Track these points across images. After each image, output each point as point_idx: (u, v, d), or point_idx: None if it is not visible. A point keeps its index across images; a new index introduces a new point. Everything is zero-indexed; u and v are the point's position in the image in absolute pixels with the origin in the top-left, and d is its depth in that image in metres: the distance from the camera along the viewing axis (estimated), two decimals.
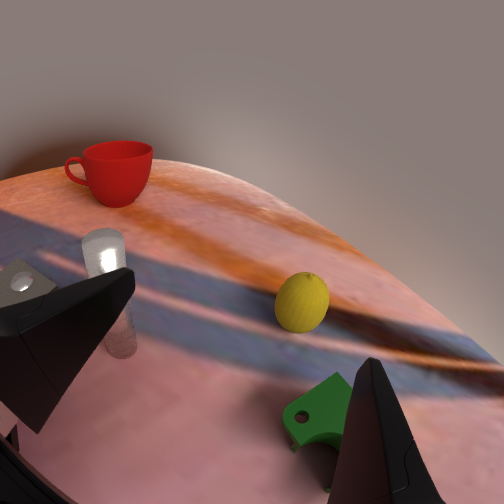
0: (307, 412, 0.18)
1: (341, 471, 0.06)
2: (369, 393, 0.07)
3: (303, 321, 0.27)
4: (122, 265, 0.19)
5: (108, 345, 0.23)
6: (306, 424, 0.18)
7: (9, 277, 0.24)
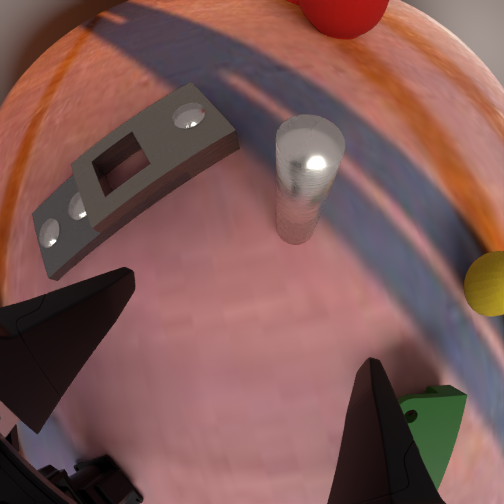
0: (417, 415, 0.15)
1: (341, 471, 0.06)
2: (369, 393, 0.07)
3: (483, 309, 0.17)
4: (330, 180, 0.13)
5: (278, 228, 0.23)
6: None
7: (173, 107, 0.25)
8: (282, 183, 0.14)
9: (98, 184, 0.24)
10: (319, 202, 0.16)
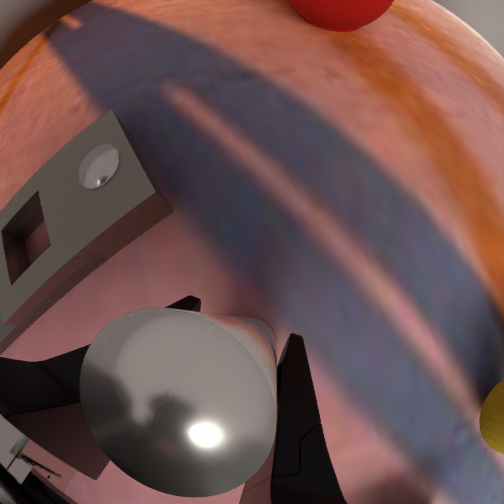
0: None
1: None
2: (281, 368, 0.08)
3: (497, 450, 0.08)
4: None
5: None
6: None
7: (83, 152, 0.16)
8: None
9: (5, 265, 0.15)
10: None
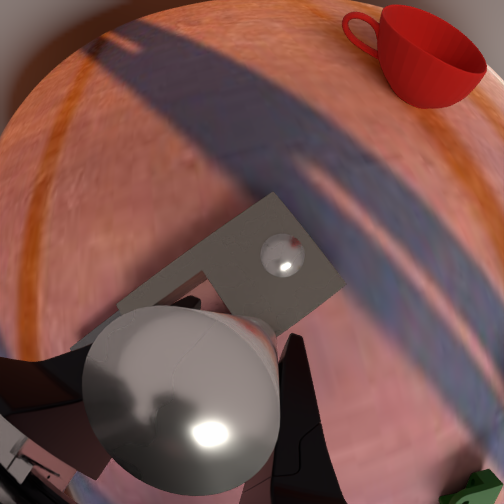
0: (468, 502, 0.12)
1: None
2: (281, 368, 0.08)
3: None
4: None
5: None
6: None
7: (256, 237, 0.21)
8: None
9: None
10: None
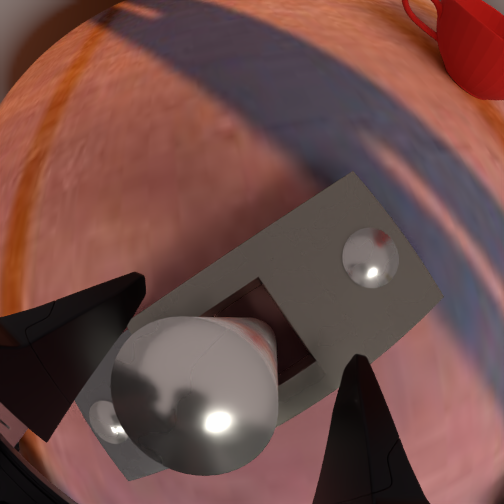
0: None
1: (326, 468, 0.07)
2: (354, 389, 0.07)
3: None
4: None
5: None
6: None
7: (336, 231, 0.15)
8: None
9: None
10: None
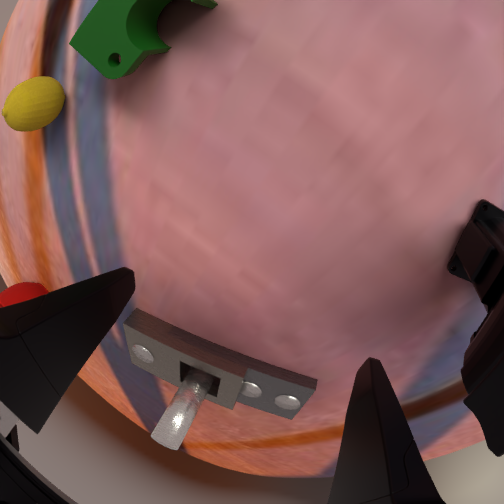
0: (109, 56, 0.14)
1: (341, 471, 0.06)
2: (369, 393, 0.07)
3: (46, 96, 0.17)
4: (168, 425, 0.24)
5: None
6: (121, 53, 0.14)
7: (149, 364, 0.34)
8: (187, 430, 0.26)
9: (220, 386, 0.31)
10: (180, 409, 0.26)
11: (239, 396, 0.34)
